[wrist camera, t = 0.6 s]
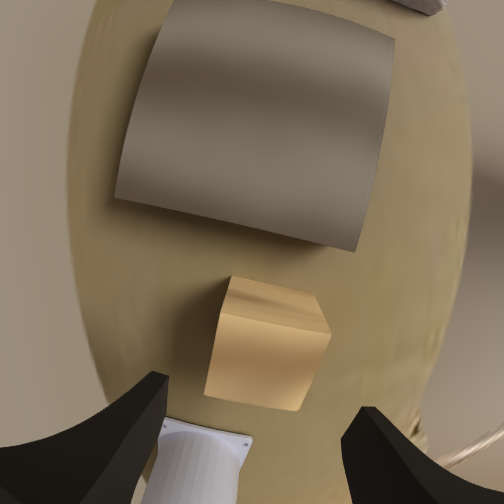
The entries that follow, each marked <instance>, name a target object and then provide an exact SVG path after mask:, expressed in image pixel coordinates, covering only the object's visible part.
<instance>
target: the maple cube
mask: <svg viewBox="0 0 504 504" xmlns="http://www.w3.org/2000/svg"><path fill="white" fill-rule="evenodd" d="M331 336H332V334H331V331H330V329H329V327H328V325H327V322H326V320H325V318H324V316H323V313H322V311H321V309H320V307H319V305H318V302H317V300H316V298H315V296H314V294H312V293H307V292H302V291H298V290H293V289H289V288H284V287H279V286H275V285H270V284H266V283H262V282H257V281H253V280H248V279H244V278H240V277H235V276H232V277H231V280H230V283H229V286H228V290H227V293H226V296H225V299H224V302H223V306H222V309H221V312H220V317H219V322H218V326H217V331H216V336H215V341H214V346H213V351H212V356H211V361H210V366H209V371H208V376H207V381H206V386H205V391H204V395H207V396H211V397H215V398H220V399H225V400H229V401H234V402H240V403H245V404H251V405H257V406H263V407H269V408H276V409H284V410H292V411H298V410H299V408H300V406H301V404H302V402H303V400H304V398H305V395H306V393H307V391H308V389H309V387H310V385H311V383H312V380H313V378H314V376H315V374H316V372H317V369H318V367H319V365H320V362H321V360H322V358H323V355H324V353H325V351H326V348H327V346H328V343H329V341H330V338H331Z"/></svg>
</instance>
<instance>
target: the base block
mask: <svg viewBox="0 0 504 504" xmlns="http://www.w3.org/2000/svg"><path fill="white" fill-rule="evenodd" d="M394 44H395V39H394V38H392V37H389V36H387V35H385V34H382V33H380V32H378V31H375V30H373V29H370V28H368V27H365V26H363V25H360V24H357V23H354V22H351V21H349V20H346V19H343V18H339V17H336V16H333V15H330V14H326V13H323V12H319V11H315V10H312V9H308V8H303V7H299V6H295V5H290V4H285V3H280V2H274V1H268V0H174V1H173V3H172V5H171V7H170V9H169V12H168V14H167V16H166V18H165V20H164V23H163V25H162V27H161V29H160V32H159V34H158V37H157V39H156V42H155V44H154V47H153V49H152V52H151V54H150V57H149V60H148V63H147V65H146V68H145V71H144V74H143V77H142V80H141V83H140V86H139V90H138V93H137V96H136V99H135V103H134V106H133V110H132V114H131V117H130V121H129V125H128V129H127V133H126V137H125V141H124V146H123V150H122V155H121V160H120V165H119V170H118V176H117V181H116V187H115V194H114V198H119V199H124V200H129V201H134V202H138V203H143V204H148V205H153V206H158V207H162V208H167V209H172V210H177V211H181V212H186V213H190V214H195V215H199V216H204V217H209V218H213V219H217V220H222V221H226V222H231V223H235V224H239V225H244V226H248V227H252V228H257V229H261V230H265V231H269V232H274V233H278V234H282V235H286V236H290V237H294V238H298V239H302V240H306V241H310V242H315V243H319V244H323V245H327V246H330V247H334V248H338V249H342V250H346V251H350V252H354V253H355V250H356V247H357V244H358V240H359V237H360V233H361V230H362V226H363V222H364V219H365V215H366V211H367V207H368V203H369V199H370V195H371V191H372V187H373V182H374V178H375V174H376V169H377V164H378V159H379V154H380V149H381V144H382V139H383V133H384V127H385V121H386V115H387V109H388V102H389V94H390V86H391V78H392V68H393V57H394Z"/></svg>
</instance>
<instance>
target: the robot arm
mask: <svg viewBox="0 0 504 504" xmlns="http://www.w3.org/2000/svg"><path fill="white" fill-rule="evenodd" d="M168 382H169V376H168V375H164V374H161V373H158V372H154V371H152V372H149V373H148V374H147V375H146V376H145V377H144V378H143V379H142V380H141V381H140V382H139V383H137V384H136V385H135V386H134V387H133V388H131V389H130V390H129V391H128V392H127V393H125V394H124V395H123V396H121V397H120V398H119V399H117V400H116V401H115V402H113V403H112V404H111V405H109V406H108V407H106V408H105V409H103V410H102V411H100V412H99V413H97V414H95V415H94V416H92V417H91V418H89V419H87V420H85V421H84V422H82V423H80V424H78V425H76V426H74V427H72V428H69V429H67V430H65V431H62V432H60V433H58V434H55V435H53V436H50V437H47V438H44V439H41V440H37V441H33V442H29V443H25V444H21V445H16V446H10V447H3V448H2V447H1V448H0V504H131V500H132V497H133V493H134V490H135V487H136V485H137V482H138V480H139V477H140V475H141V473H142V471H143V469H144V467H145V465H146V462H147V460H148V458H149V456H150V454H151V452H152V450H153V447H154V445H155V443H156V441H157V439H158V455H157V458H156V461H155V463H154V466H153V469H152V472H151V475H150V478H149V481H148V484H147V487H146V489H145V492H144V495H143V499H142V501H141V504H236V500H237V488H238V476H239V471H240V468H241V466H242V464H243V462H244V460H245V458H246V455H247V453H248V451H249V449H250V446H251V444H252V439H253V438H252V437H250V436H247V435H241V434H235V433H230V432H225V431H220V430H215V429H210V428H206V427H202V426H197V425H193V424H189V423H186V422H182V421H178V420H175V419H171V418H168V417H165V415H166V410H167V395H168ZM341 450H342V460H343V465H344V469H345V473H346V477H347V482H348V486H349V490H350V494H351V499H352V503H353V504H504V493H503V492H499V491H495V490H491V489H487V488H484V487H481V486H478V485H475V484H472V483H470V482H468V481H466V480H464V479H462V478H460V477H458V476H456V475H454V474H452V473H450V472H449V471H447V470H446V469H444V468H443V467H441V466H440V465H438V464H437V463H435V462H434V461H433V460H431V459H430V458H429V457H427V456H426V455H425V454H424V453H423V452H422V451H420V450H419V449H418V448H417V447H416V446H415V445H414V444H413V443H412V442H410V441H409V440H408V439H407V438H406V437H405V436H404V435H403V434H402V433H401V432H400V431H399V430H398V429H397V428H396V427H395V426H394V425H393V424H392V423H391V422H390V421H389V420H388V419H387V418H386V417H385V416H384V415H383V414H382V413H381V412H380V411H379V410H378V409H377V408H376V407H363V406H362V407H361V409H360V410H359V412H358V413H357V415H356V417H355V418H354V420H353V421H352V423H351V424H350V426H349V427H348V429H347V430H346V432H345V433H344V435H343V436H342V438H341Z"/></svg>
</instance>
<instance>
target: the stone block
mask: <svg viewBox="0 0 504 504" xmlns="http://www.w3.org/2000/svg"><path fill="white" fill-rule="evenodd" d="M393 1H395V2H398V3H400V4H402V5H404V6H406V7H408V8H411V9H415V10H418V11H421V12H422V13H424V14H426V15H429V16H432V15H435V14H436V13H437V12H438V11H441V10H442V9H443V8H444V7H445V5H446V4H447V3H449V0H393Z"/></svg>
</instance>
